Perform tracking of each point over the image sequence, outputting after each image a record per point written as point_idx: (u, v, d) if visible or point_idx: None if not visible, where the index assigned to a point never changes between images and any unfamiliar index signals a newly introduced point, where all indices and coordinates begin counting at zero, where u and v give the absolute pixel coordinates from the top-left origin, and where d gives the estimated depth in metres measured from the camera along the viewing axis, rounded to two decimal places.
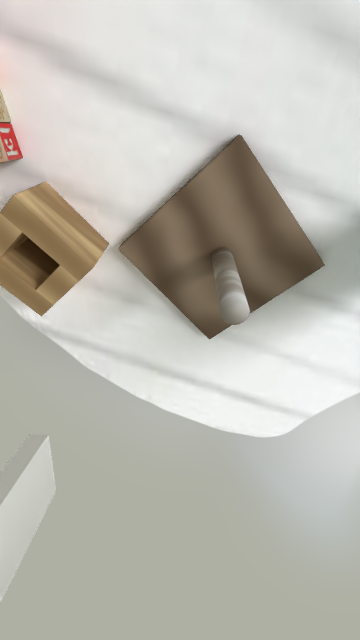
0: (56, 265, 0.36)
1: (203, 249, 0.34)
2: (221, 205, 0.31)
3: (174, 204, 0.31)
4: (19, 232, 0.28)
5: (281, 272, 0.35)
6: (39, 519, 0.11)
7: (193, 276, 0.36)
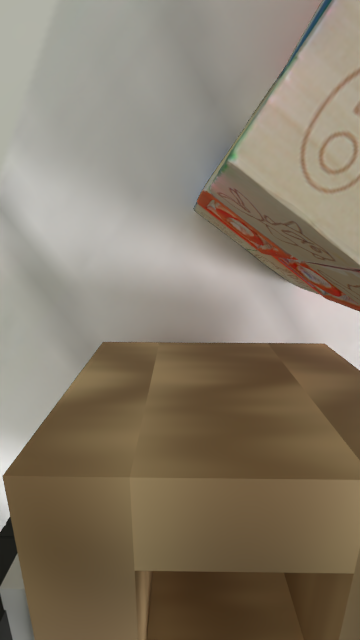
0: None
1: None
2: None
3: None
4: (344, 570, 0.06)
5: None
6: None
7: None
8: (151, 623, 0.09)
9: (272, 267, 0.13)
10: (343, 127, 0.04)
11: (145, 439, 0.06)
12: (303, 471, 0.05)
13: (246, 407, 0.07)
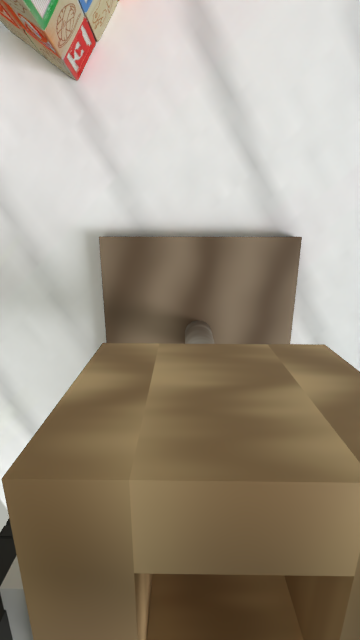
0: None
1: (187, 310, 0.27)
2: (237, 282, 0.26)
3: (196, 243, 0.25)
4: (345, 572, 0.06)
5: None
6: None
7: (153, 329, 0.27)
8: (151, 625, 0.09)
9: (54, 62, 0.22)
10: None
11: (145, 441, 0.06)
12: (303, 474, 0.05)
13: (246, 409, 0.07)
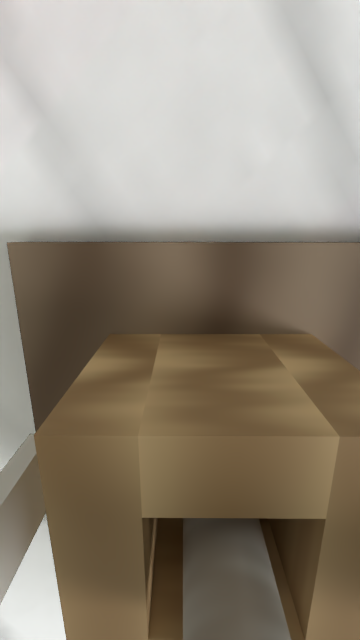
0: None
1: None
2: (286, 332, 0.13)
3: (205, 256, 0.12)
4: (318, 515, 0.07)
5: None
6: (40, 519, 0.11)
7: None
8: (155, 579, 0.10)
9: None
10: None
11: (150, 409, 0.07)
12: (281, 431, 0.07)
13: (237, 385, 0.09)
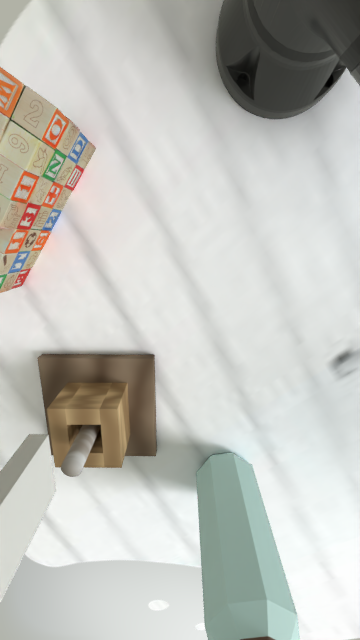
0: None
1: None
2: (119, 382, 0.44)
3: (93, 361, 0.43)
4: (98, 423, 0.38)
5: (128, 443, 0.47)
6: (39, 519, 0.11)
7: None
8: None
9: None
10: None
11: (69, 404, 0.39)
12: (90, 408, 0.38)
13: (90, 399, 0.40)
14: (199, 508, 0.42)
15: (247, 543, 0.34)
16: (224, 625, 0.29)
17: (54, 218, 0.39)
